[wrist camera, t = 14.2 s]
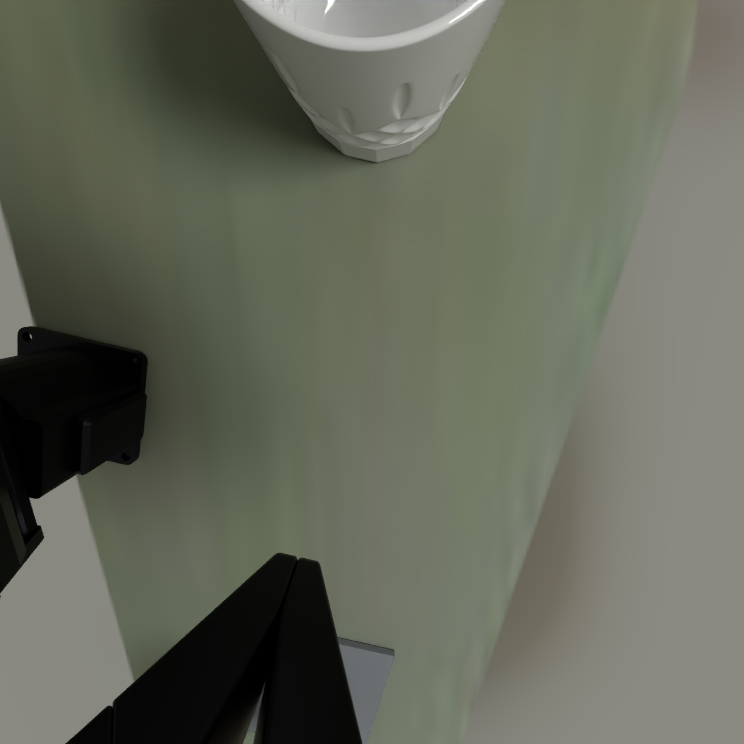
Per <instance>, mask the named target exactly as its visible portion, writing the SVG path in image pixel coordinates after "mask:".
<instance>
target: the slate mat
mask: <svg viewBox="0 0 744 744" xmlns="http://www.w3.org/2000/svg"><path fill="white" fill-rule="evenodd" d="M338 642H339V646H340V650H341V655H342V659H343V663H344V667H345V671H346V676H347V680H348V684H349V688H350V692H351V697H352V701H353V705H354V709H355V713H356V718H357V722H358V726H359V730H360V734H361V739H362V743H363V744H366V743H367V740H368V737H369V734H370V730H371V727H372V724H373V721H374V718H375V715H376V712H377V709H378V706H379V703H380V700H381V697H382V693H383V690H384V687H385V684H386V681H387V678H388V675H389V672H390V669H391V666H392V663H393V660H394V657H395V656H394V650H390V649H386V648H381V647H377V646H372V645H368V644H363V643H359V642H354V641H350V640H345V639H341V638H338ZM264 686H265V684H264ZM263 690H264V688H263ZM262 695H263V691H262V694H261V697H260V700H259V702H258V705H257V708H256V711H255V713H254V716H253V718H252V721H251V723H250V726H249V729H248V731H251V732H255V731H256V726H257V720H258V715H259V709H260V705H261V700H262Z"/></svg>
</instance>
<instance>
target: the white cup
mask: <svg viewBox="0 0 744 744" xmlns="http://www.w3.org/2000/svg"><path fill="white" fill-rule="evenodd" d="M233 2H234V4H235V5H236V7H237V8H238V10H239V12H240V13H241V15H242V16H243V18H244V20H245V21H246V23H247V24H248V26H249V28H250V29H251V31H252V33H253V34H254V36H255V37H256V39H257V41H258V42H259V44H260V46H261V47H262V49H263V50H264V52H265V54H266V55H267V57H268V59H269V60H270V62H271V63H272V65H273V67H274V68H275V70H276V71H277V73H278V75H279V76H280V78H281V79H282V80H283V82H284V83H285V84H286V86H287V87H288V89H289V91H290V92H291V94H292V95H293V97H294V98H295V100H296V101H297V103H298V104H299V105H300V106H301V108H302V109H303V110H304V111H305V113H306V114H307V115H308V116H309V117H310V119H311V121H312V123H313V124H314V126H315V128H316V130H317V131H318V132H319V133H320V134H321V135H322V136H323V137H324V138H325V139H327V140H328V141H329V142H330V143H331V144H332V145H334V146H335V147H336V148H337V149H338V150H339V151H341V152H342V153H343V154H344V155H346V156H351V157H355V158H359V159H363V160H367V161H372V162H376V163H378V162H382V161H386V160H389V159H393V158H397V157H401V156H404V155H408V154H410V153H411V152H412V151H414V150H415V149H416V148H417V147H418V146H419V145H420V144H422V143H423V142H424V141H425V140H426V139H427V138H428V137H429V136H431V135H432V134H433V133H434V132H435V131H436V130H437V129H438V127H439V124H440V122H441V120H442V118H443V116H444V113H445V111H446V109H447V108H448V107H449V105H450V104H451V103H452V101H453V100H454V98H455V97H456V96H457V94H458V93H459V91H460V89H461V87H462V85H463V83H464V82H465V80H466V78H467V76H468V74H469V73H470V71H471V69H472V67H473V65H474V63H475V61H476V60H477V58H478V56H479V55H480V53H481V51H482V49H483V47H484V45H485V44H486V41H487V39H488V37H489V35H490V33H491V31H492V28H493V26H494V24H495V22H496V20H497V18H498V16H499V14H500V12H501V10H502V8H503V6H504V4H505V2H506V0H233Z"/></svg>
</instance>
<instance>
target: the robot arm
mask: <svg viewBox="0 0 744 744" xmlns="http://www.w3.org/2000/svg"><path fill="white" fill-rule="evenodd" d="M30 334H31V335H32V339H31V338H30ZM134 358H136V359H137V360H138V365H137V364H135V363H134V360H133V359H134ZM147 364H148V362H147V358H146V356H145V355H144V354H143V353H142V352H139V351H135V350H131V349H127V348H123V347H119V346H114V345H110V344H106V343H102V342H98V341H93V340H89V339H85V338H81V337H76V336H72V335H68V334H64V333H60V332H55V331H51V330H47V329H43V328H39V327H33V326H30V327H23V328H21V329H20V330H19V331H18V356H13V357H9V358H4V359H0V593H1V592H2V591H3V589H4V588H5V587H6V585H7V584H8V583H9V582H10V580H11V579H12V578H13V577H14V575H15V574H16V573H17V572H18V570H19V569H20V568H21V567H22V565H23V564H24V563H25V562H26V560H27V559H28V558H29V557H30V555H31V554H32V553H33V551H34V550H35V549H36V548H37V546H38V545H39V544H40V543H41V541H42V540H43V539H44V535H43V532H42V529H41V526H39V525H37V523H36V519H35V516H34V513H33V509H32V506H31V503H30V499H29V498H34V499H38V498H40V497H42V496H43V495H44V494H46V493H48V492H49V491H51V490H53V489H54V488H56V487H57V486H59V485H60V484H62V483H63V482H65V481H67V480H68V479H70V478H72V477H73V476H75V475H76V474H80V475H85V474H87V473H88V472H90V471H91V470H93V469H95V468H96V467H98V466H99V465H101V464H102V463H104V462H105V461H111V462H115V463H120V464H124V465H129V464H132V463H133V462H135V461H136V460H137V459H138V457H139V452H140V441H141V438H142V437H143V432H144V421H145V410H146V399H147V396H146V394H145V386H146V375H147ZM126 453H128V454H129V455H130V457H128V456H127V455H126ZM0 597H1V596H0ZM264 684H265V686H264ZM263 688H264V690H263ZM262 691H263V695H262V700H261V705H260V709H259V715H258V720H257V726H256V731H255V737H254V743H253V744H363V743H362V739H361V734H360V730H359V726H358V722H357V718H356V713H355V709H354V705H353V701H352V697H351V692H350V688H349V684H348V680H347V676H346V671H345V667H344V663H343V659H342V655H341V650H340V646H339V642H338V638H337V634H336V629H335V625H334V621H333V617H332V613H331V608H330V604H329V600H328V596H327V592H326V587H325V583H324V579H323V575H322V571H321V566H320V564H319V562H318V561H315V560H310V559H306V558H299V559H298V561H297V557H296V556H293V555H288V554H284V553H277V554H275V555H274V556H273V557H272V558H271V559H269V560H268V561H267V562H266V563H265V564H264V565H263V566H262V567H261V568H260V569H258V570H257V571H256V572H255V573H254V574H253V575H252V576H251V577H250V578H248V579H247V580H246V581H245V582H244V583H243V584H242V585H241V586H240V587H239V588H237V589H236V590H235V591H234V592H233V593H232V594H231V595H230V596H229V597H227V598H226V599H225V600H224V601H223V602H222V603H221V604H220V605H219V606H218V607H216V608H215V609H214V610H213V611H212V612H211V613H210V614H209V615H208V616H207V617H205V618H204V619H203V620H202V621H201V622H200V623H199V624H198V625H197V626H195V627H194V628H193V629H192V630H191V631H190V632H189V633H188V634H187V635H186V636H184V637H183V638H182V639H181V640H180V641H179V642H178V643H177V644H176V645H175V646H173V647H172V648H171V649H170V650H169V651H168V652H167V653H166V654H165V655H163V656H162V657H161V658H160V659H159V660H158V661H157V662H156V663H155V664H154V665H152V666H151V667H150V668H149V669H148V670H147V671H146V672H145V673H144V674H143V675H141V676H140V677H139V678H138V679H137V680H136V681H135V682H134V683H133V684H131V685H130V686H129V687H128V688H127V689H126V690H125V691H124V692H123V693H122V694H120V695H119V696H118V697H117V698H116V699H115V700H114V702H113V706H107V707H106V708H105V709H104V710H102V711H101V712H100V713H99V714H98V715H97V716H96V717H95V718H94V719H92V720H91V721H90V722H89V723H88V724H87V725H86V726H85V727H84V728H83V729H82V730H81V731H79V732H78V733H77V734H76V735H75V736H74V737H73V738H71V739H70V740H69V741H68V742H67V743H66V744H243V741H244V739H245V736H246V734H247V731H248V729H249V726H250V723H251V721H252V718H253V716H254V713H255V711H256V708H257V705H258V702H259V700H260V697H261V694H262Z"/></svg>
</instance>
